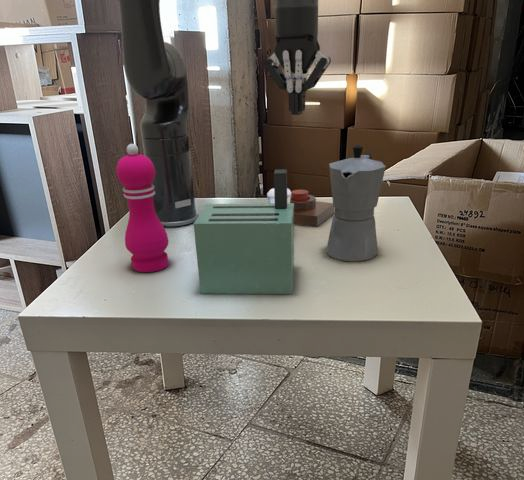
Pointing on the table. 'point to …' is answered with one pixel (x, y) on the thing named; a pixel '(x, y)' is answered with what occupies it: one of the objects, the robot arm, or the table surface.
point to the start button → (299, 195)
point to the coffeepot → (354, 206)
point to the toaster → (245, 248)
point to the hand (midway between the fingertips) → (296, 114)
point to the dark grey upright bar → (280, 188)
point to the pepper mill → (142, 213)
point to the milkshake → (272, 197)
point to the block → (311, 211)
